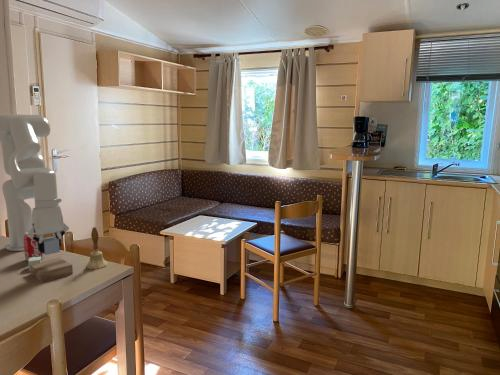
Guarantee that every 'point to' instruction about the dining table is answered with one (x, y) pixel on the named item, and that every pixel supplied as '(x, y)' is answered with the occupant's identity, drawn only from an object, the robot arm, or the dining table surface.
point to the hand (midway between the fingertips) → (50, 250)
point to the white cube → (34, 261)
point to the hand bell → (96, 253)
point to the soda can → (31, 247)
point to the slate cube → (51, 245)
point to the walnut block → (51, 269)
